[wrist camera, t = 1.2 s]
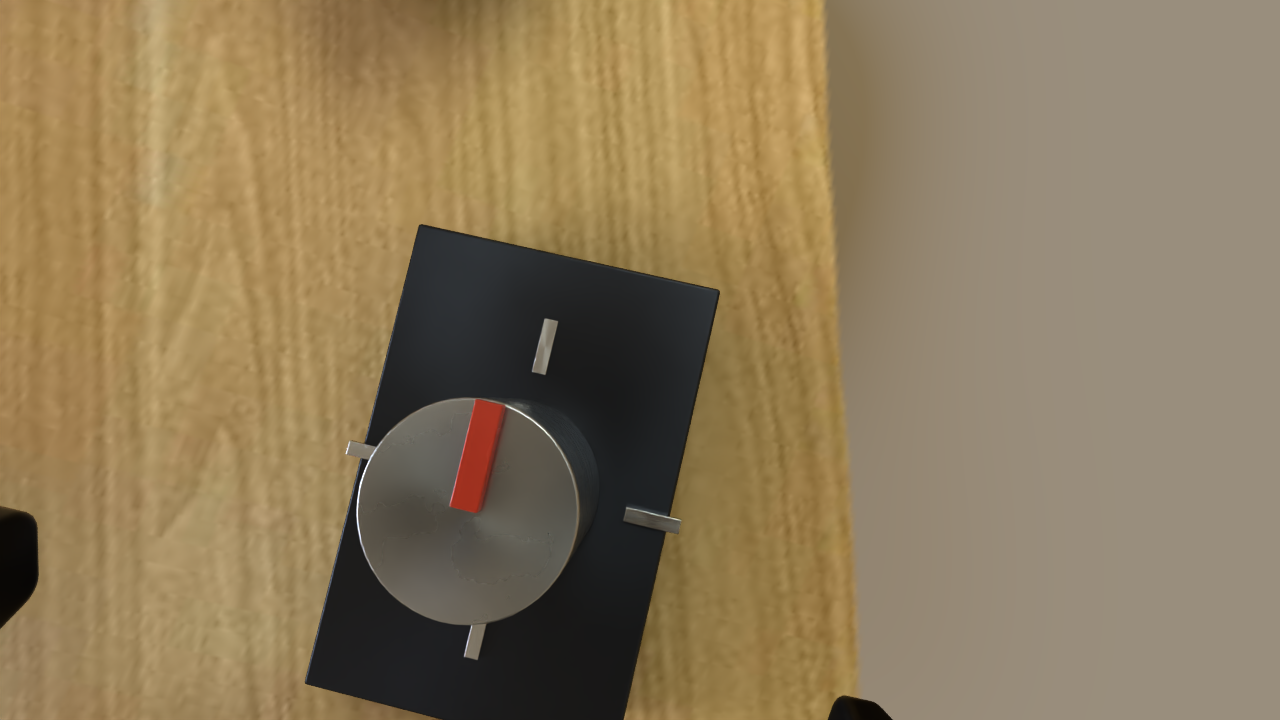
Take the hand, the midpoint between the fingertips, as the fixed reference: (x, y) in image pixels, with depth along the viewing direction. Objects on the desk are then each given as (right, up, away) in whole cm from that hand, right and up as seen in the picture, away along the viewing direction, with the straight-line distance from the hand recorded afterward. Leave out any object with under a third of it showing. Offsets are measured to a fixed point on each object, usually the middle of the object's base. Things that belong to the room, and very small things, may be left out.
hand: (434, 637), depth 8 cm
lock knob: (-1, 0, +10) cm, 10 cm away
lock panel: (-1, 0, +13) cm, 13 cm away
